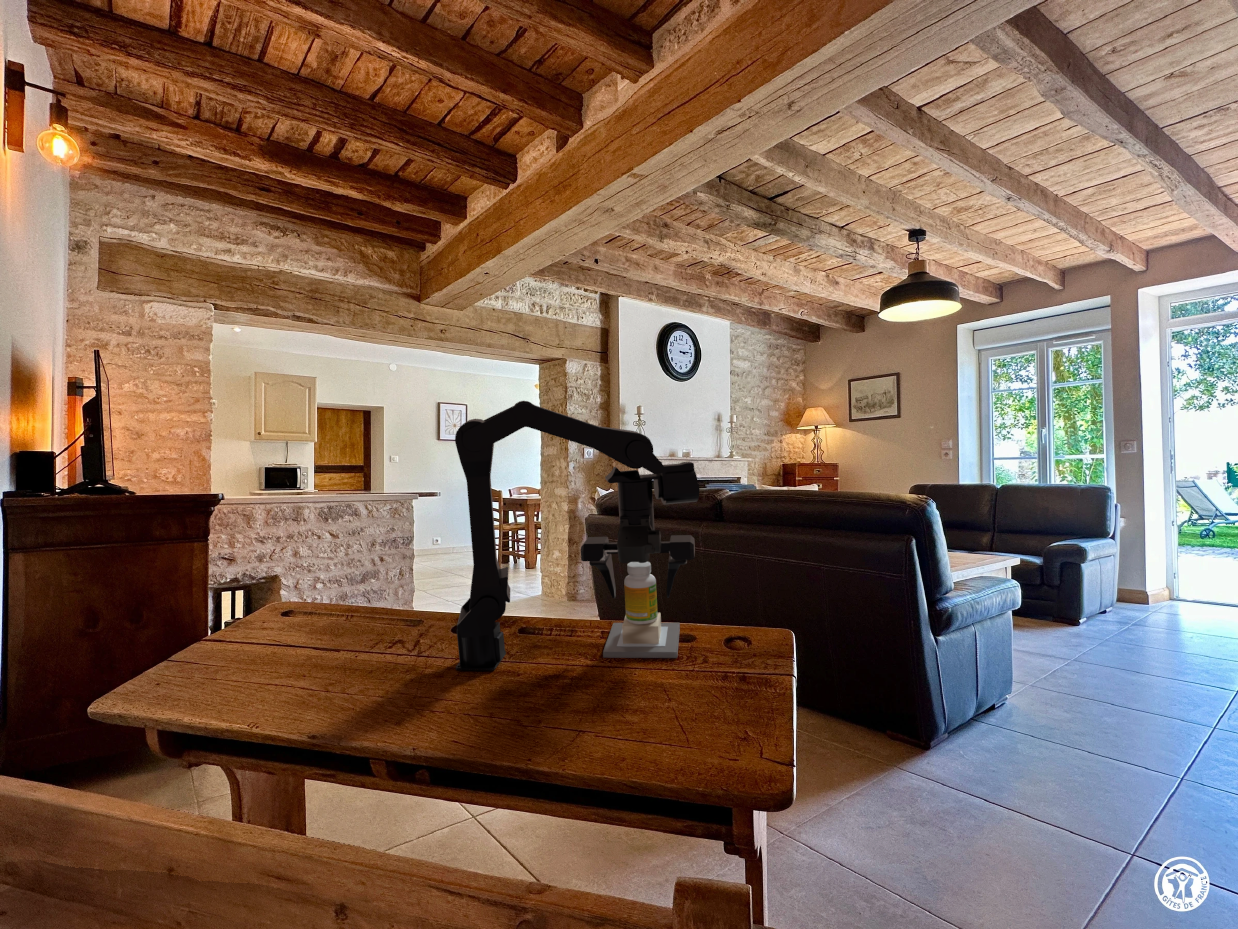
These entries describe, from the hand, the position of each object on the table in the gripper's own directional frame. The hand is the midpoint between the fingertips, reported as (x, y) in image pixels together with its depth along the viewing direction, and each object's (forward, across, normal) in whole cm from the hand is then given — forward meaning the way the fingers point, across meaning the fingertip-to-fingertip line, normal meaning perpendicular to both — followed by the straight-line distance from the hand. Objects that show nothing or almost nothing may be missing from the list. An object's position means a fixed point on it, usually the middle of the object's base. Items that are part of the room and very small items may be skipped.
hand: (640, 597), depth 106 cm
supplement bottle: (+4, 0, 0) cm, 4 cm away
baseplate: (+8, 0, 0) cm, 8 cm away
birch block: (+7, 0, 0) cm, 7 cm away
